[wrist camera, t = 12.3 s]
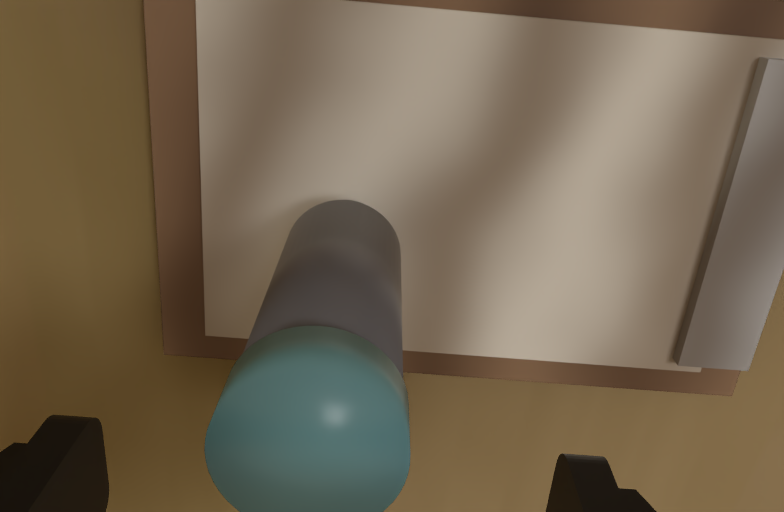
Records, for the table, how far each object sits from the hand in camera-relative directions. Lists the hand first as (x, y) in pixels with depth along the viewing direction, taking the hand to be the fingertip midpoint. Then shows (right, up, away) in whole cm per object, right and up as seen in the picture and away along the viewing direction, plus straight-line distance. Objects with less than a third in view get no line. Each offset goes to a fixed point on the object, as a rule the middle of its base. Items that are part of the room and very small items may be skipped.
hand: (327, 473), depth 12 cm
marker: (0, +5, +10) cm, 11 cm away
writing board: (+4, +6, +10) cm, 12 cm away
